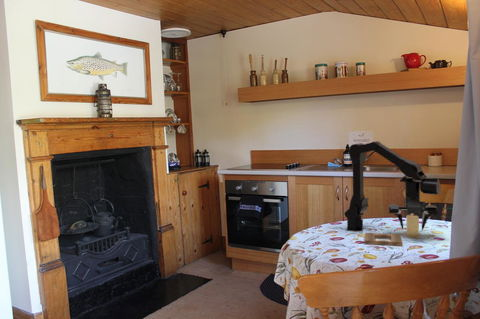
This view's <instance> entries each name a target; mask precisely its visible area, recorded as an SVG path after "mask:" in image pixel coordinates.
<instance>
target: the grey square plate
mask: <svg viewBox="0 0 480 319" xmlns="http://www.w3.org/2000/svg"><path fill="white" fill-rule="evenodd" d="M402 234H403V238H404V239H405V238H406V239H407V238H410V239H423V236H422V233H420V232H419V237H409V236H407V234H406V232H402Z"/></svg>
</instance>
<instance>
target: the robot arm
mask: <svg viewBox="0 0 480 319" xmlns="http://www.w3.org/2000/svg"><path fill="white" fill-rule="evenodd" d="M369 152H375V153H376V154H378V155H379V156H381V157H383V158H384V159H386V160H387V161H388V162H390V163H391V164H394V165H395V166H396V167H397V168H398V169H399V171H400V172H401V173H402V174H404V175H403V177H402V178H401V179H400V180H399V182H401V183H404V206H400V205H399V204H396V203H395V204H394V203H393V204H388V213H389V214H393V215H394V216H396V217H397V218H398V221H399V223H400V226H401V230H404V221H403V214H402V212H406V213H407V214H408V215H409V214H410V215H412V214H415V215H416V214H417V215H419V214H421V213H422V216H421V218H422V219H421V231H424V228H425V225H426V224H427V222H428V219H429V218H430V217H433V215H439V209H438V207H437V206H436V205H434V204H433V205H432V204H431V205H429V204H427V205H426V201H421V193H423V194H425V195H433V196H434V195H437V196H439V195H440V193H441V183H440V178H439V177H427V175H426V174H425V172H424V171H423V170H422V165H421V164H420V163H419V162H416V161H413V160H411V159H408V158H405V157H403V156H401V155H399V154H398V153H397V152H395V151H394V150H392V149H391V148H389V147H388V146H386V145H385V144H383V143H382V142H380V141H371V142H369V143H353V144H351V145H350V146H349V148H348V154H349V158H350V161H351V162H352V196H351V199H350V201H349V208H347V210H346V211H345V212H344V216H345V218H346V221H347V222H346V224H347V225H346V226H347V228H346V231H350V232H352V231H353V232H362V231H363V229H364V219H363V217H362V216H363V215H364V213H365V212H366V211H367V210H368V207H369V197H366V196H365V194H364V162H365V159H366V158H367V153H369Z"/></svg>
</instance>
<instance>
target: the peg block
mask: <svg viewBox="0 0 480 319" xmlns="http://www.w3.org/2000/svg"><path fill="white" fill-rule="evenodd" d="M405 222H406V229H405V230H406V232H405V233H406V234H407V236H409V237H419V233H420V231H419V229H420V228H419V227H420V223H419V222H420V218H419V216H418V215H412V214H410V215H409V214H407V215H406V220H405Z"/></svg>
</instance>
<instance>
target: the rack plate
mask: <svg viewBox="0 0 480 319" xmlns="http://www.w3.org/2000/svg"><path fill="white" fill-rule="evenodd" d="M364 245H369V246H370V245H371V246H390V247H396V248H395V250H396V249H399V248H397V247H403V239H402V235H401V234H400V233H399V234H397V233H383V232H382V233H381V232H379V233H378V232H364ZM378 248H380V249H381V248H382V247H378Z"/></svg>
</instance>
